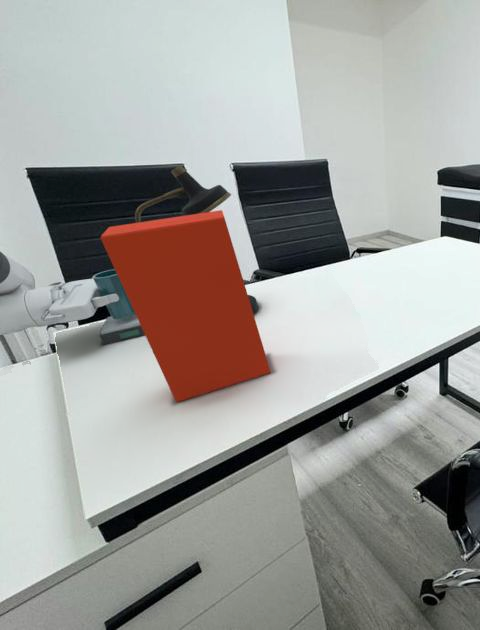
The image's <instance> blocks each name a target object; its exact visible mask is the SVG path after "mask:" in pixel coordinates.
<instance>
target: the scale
mask: <svg viewBox="0 0 480 630" xmlns="http://www.w3.org/2000/svg"><path fill="white" fill-rule="evenodd" d="M141 336H145V334H144V331H143V329H142V327H141V325H140V323H139V320H138V318H137V316H136V314H135V315H133V316H130V317H127V318H123V319H113V318H112V317H111V316H107V317H106V318H105V321H104V323H103V325H102V326H101V329H100V334H99V339H100V340H101V342H102V345H104V346H105V345H109V344H113V343H117V342H121V341H125V340H128V339H129V340H130V339H134V338H137V337H141Z"/></svg>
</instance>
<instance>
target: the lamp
mask: <svg viewBox="0 0 480 630" xmlns="http://www.w3.org/2000/svg"><path fill="white" fill-rule="evenodd" d="M170 172H171V174H172V175H173V176H174V177H175V179H176V181H177V182H178V183H179V185H180V186H181V187H179V188H175V189H173V190H171V191H169V192H166V193H164V194H162V195H160V196H158V197H154V198H152V199H150V200H147V201H145V202H144V203H142V204H140V205H139V206H138V207H136V210H135V213H134V219H135V223H139V222H142V220H141V215H142V212H143V211H144V210H145V209H146V208H148V207H150V206H153V205H155V204H158V203H160V202H163V201H165V200H169V199H171V198H174V197H177V196H180V195H182V194H183V193H186V194H187V196H188V198H189V202H188V203H187V204H185V206H184V207H182V208H181V212H182V214H183V216H186V215H193V214H199V213H206V212H213V210H215V209H216V208H217V207H219V206H220V205H221V204H223V203H224V202H225V201H227V200H228V199H229V198H230V197H231V195H232V193H230V192H229V191H228V190H227V189H226V188H225V187H223V186H222V185H221V184H217V185H215V186H213V187H211V188H205V187H203V186H202V185H201V184H200V182H199V181H198V180H196V179H195V178H194V177H193V176H192V175H191V174H190V173H189V172H188V171H187V170H186V169H185V168H184V167H183V166H182V165H178V166H176V167H175V168H173V169H172V170H171V171H170ZM248 298H249V301H250V304H251V308H252V311H253V315H254V316H255V314H257V313H258V311H259V309H260V307H259V304H258V301H257V298H256V297H255V296H253V295H251V294H248Z"/></svg>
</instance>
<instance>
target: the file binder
mask: <svg viewBox="0 0 480 630" xmlns="http://www.w3.org/2000/svg"><path fill="white" fill-rule="evenodd" d="M100 240H101V242H102V244H103V247H104V248H105V251H106V253H107V255H108V257H109V259H110V262H111V264H112V266H113V268H114V269H115V271H116V273H117V275H118V277H119V279H120V281H121V284H122V286H123V288H124V290H125V292H126V294H127V297H128V299H129V301H130V303H131V305H132V307H133V310H134V312H135V314H136V316H137V318H138V320H139V323H140V325H141V327H142V329H143V331H144V334H145V335H144V336H145V338H146V340H147V343H148V344H149V346H150V349H151V351H152V353H153V355H154V357H155V360H156V362H157V364H158V366H159V368H160V370H161V372H162V375H163V377H164V379H165V381H166V384H167V385H168V388H169V390H170V392H171V394H172V397H173V399H174V401H175V402H176V403H179V402H182V401H184V400H185V401H186V400H188V399H192V398H195V397H198V396H202V395H204V394H208V393H211V392H213V391H214V392H215V391H217V390H220V389H224V388H226V387H230V386H233V385H236V384H239V383H243V382H246V381H249V380H252V379H256V378H259V377H261V376H265V375H268V374H271V373H272V371H271V368H270V365H269V361H268V358H267V355H266V352H265V349H264V345H263V341H262V338H261V335H260V332H259V328H258V325H257V322H256V318H255V314H254V315H253V311H252V308H251V304H250V301H249V298H248V295H249V294H248V292H247V288H246V285H245V281H244V278H243V275H242V271H241V268H240V265H239V262H238V257H237V255H236V251H235V248H234V245H233V244H234V243H233V242H232V237H231V235H230V231H229V229H228V225H227V222H226V217H225V215H224V212H223V210H222V209H221V210H220V209H219V210H214V211H213V210H212V211H210V212H206V213H199V214H193V215H186V216H185V215H181V216H179V215H178V216H174V217H166V218H159V219H153V220H147V221H141V222H139V223H136V222H132V223H127V224H120V225H113V226H109V227H108V228H107V229H106V230H105V231H104V232H103V233H102V234H101V236H100Z"/></svg>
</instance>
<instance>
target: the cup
mask: <svg viewBox="0 0 480 630" xmlns="http://www.w3.org/2000/svg"><path fill="white" fill-rule="evenodd" d="M91 279H93V280H94V282H95V284H96V286H97V289H98V291H99V293H100V295H101V297H102V296H106V295H108V294H111V293H118V295H119V297H120V298H119V301H116V302H111V303H109V304H107V305H105V307H106V310H107V311H108V313H109V315H110V317H112V318H113V319H123V318H127V317H130V316H133V315H135V312H134V310H133V307H132V305H131V303H130V301H129V299H128V297H127V294H126V292H125V290H124V288H123V286H122V284H121V281H120V279H119V277H118V275H117V273H116V271H115V268H114V269H108V270H104V271H100V272H98V273H95V274H94V275H93V276H92V277H91Z"/></svg>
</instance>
